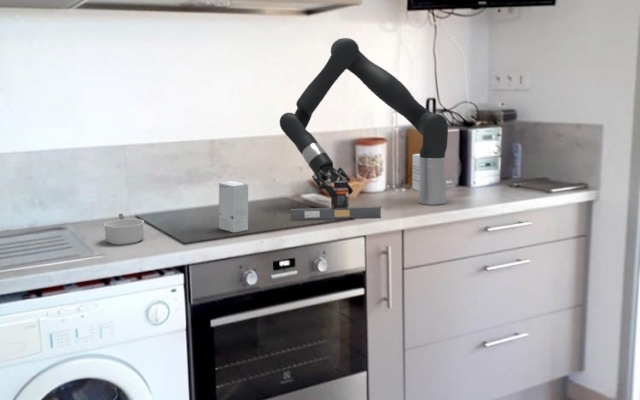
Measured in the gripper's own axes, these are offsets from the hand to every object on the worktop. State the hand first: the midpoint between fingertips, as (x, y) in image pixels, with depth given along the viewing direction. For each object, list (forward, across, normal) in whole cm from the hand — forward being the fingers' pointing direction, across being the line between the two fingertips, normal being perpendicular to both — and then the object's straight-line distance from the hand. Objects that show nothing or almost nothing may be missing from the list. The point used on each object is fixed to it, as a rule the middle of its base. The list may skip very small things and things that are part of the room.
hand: (343, 194), depth 217 cm
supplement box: (+1, +63, +10) cm, 64 cm away
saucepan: (-17, -64, +28) cm, 72 cm away
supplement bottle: (+4, 0, +6) cm, 7 cm away
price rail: (+6, -5, +5) cm, 9 cm away
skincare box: (-5, -37, +15) cm, 40 cm away
